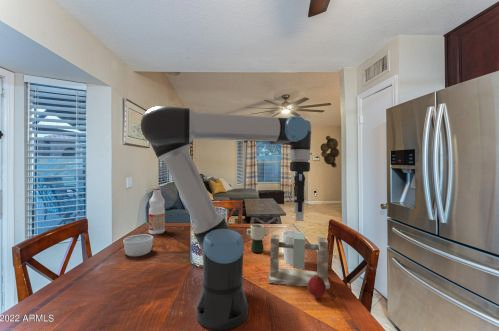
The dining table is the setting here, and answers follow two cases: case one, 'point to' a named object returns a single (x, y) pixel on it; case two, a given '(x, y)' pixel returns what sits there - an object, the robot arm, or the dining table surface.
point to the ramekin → (138, 244)
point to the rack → (297, 275)
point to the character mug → (257, 236)
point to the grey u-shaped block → (298, 250)
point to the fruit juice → (156, 212)
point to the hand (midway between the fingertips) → (298, 216)
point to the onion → (316, 286)
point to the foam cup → (288, 252)
